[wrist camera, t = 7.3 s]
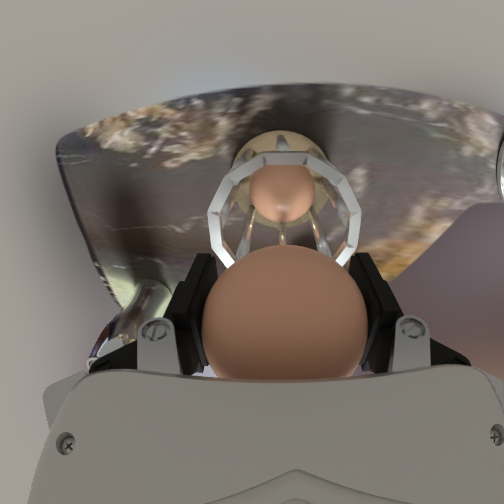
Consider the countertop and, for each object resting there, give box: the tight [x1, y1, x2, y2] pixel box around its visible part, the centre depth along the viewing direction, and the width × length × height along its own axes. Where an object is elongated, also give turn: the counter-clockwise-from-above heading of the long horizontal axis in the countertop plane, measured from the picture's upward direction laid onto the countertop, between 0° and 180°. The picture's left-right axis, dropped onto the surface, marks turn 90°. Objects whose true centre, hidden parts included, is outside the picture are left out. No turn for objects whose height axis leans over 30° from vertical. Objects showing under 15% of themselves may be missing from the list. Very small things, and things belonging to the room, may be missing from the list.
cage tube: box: [207, 130, 362, 268], centre depth 22 cm, size 10×10×13 cm
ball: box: [249, 165, 315, 222], centre depth 24 cm, size 6×6×6 cm
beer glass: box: [87, 279, 172, 369], centre depth 31 cm, size 7×7×15 cm
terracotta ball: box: [201, 245, 368, 380], centre depth 10 cm, size 6×6×6 cm
